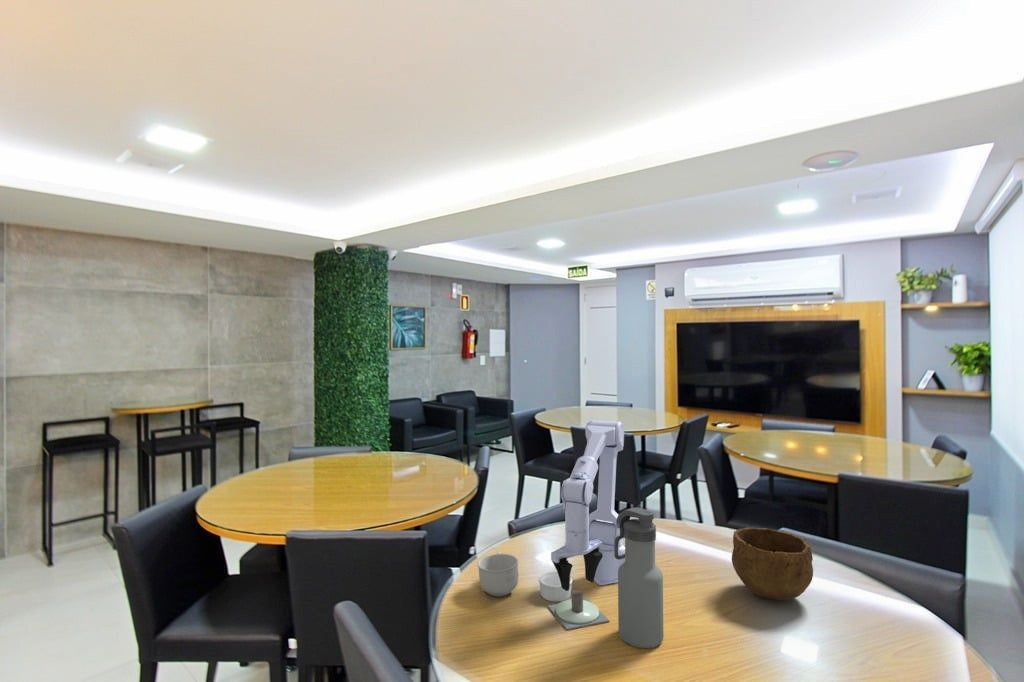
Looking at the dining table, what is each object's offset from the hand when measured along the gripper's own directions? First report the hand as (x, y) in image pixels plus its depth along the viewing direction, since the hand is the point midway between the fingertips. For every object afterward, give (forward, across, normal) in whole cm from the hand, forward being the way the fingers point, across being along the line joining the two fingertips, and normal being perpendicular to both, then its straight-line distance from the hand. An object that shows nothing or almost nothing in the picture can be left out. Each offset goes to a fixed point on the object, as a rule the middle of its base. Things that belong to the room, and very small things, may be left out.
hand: (577, 584), depth 120 cm
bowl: (+8, -49, +20) cm, 53 cm away
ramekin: (+7, -1, -11) cm, 13 cm away
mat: (+7, 0, 0) cm, 7 cm away
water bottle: (+7, -6, +15) cm, 17 cm away
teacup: (+7, +9, -22) cm, 25 cm away
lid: (+7, 0, 0) cm, 7 cm away
